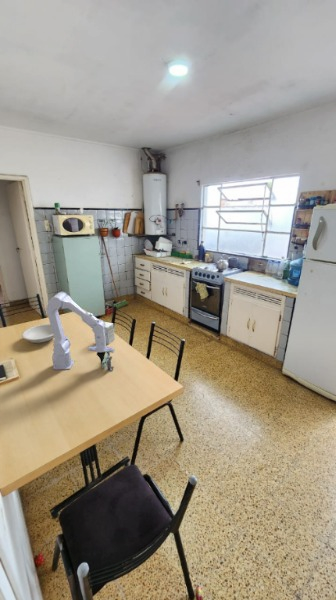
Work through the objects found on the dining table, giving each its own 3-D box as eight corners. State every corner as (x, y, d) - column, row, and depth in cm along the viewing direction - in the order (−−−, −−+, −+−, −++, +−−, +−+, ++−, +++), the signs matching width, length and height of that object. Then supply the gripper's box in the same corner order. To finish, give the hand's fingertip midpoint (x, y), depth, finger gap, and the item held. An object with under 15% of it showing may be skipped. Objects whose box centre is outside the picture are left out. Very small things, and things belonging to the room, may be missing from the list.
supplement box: (99, 342, 171) (98, 325, 167) (106, 337, 178) (104, 321, 174) (109, 344, 169) (107, 327, 164) (115, 339, 175) (113, 323, 171)
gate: (106, 359, 151) (106, 353, 150) (108, 359, 151) (108, 353, 150) (102, 369, 142) (101, 363, 140) (104, 369, 142) (103, 363, 140)
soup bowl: (68, 336, 180) (67, 328, 177) (36, 352, 161) (34, 343, 158) (48, 328, 192) (46, 320, 189) (16, 342, 173) (14, 333, 170)
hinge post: (105, 360, 151) (104, 352, 149) (106, 357, 154) (105, 349, 153) (111, 360, 151) (110, 352, 149) (112, 357, 155) (111, 349, 153)
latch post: (106, 371, 141) (105, 362, 139) (108, 367, 145) (107, 359, 143) (112, 370, 141) (111, 362, 139) (113, 367, 145) (112, 358, 143)
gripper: (115, 338, 144) (117, 359, 148) (91, 337, 146) (93, 357, 150) (110, 345, 137) (112, 366, 142) (85, 343, 139) (88, 364, 144)
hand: (102, 362), depth 146 cm, fingers closed
